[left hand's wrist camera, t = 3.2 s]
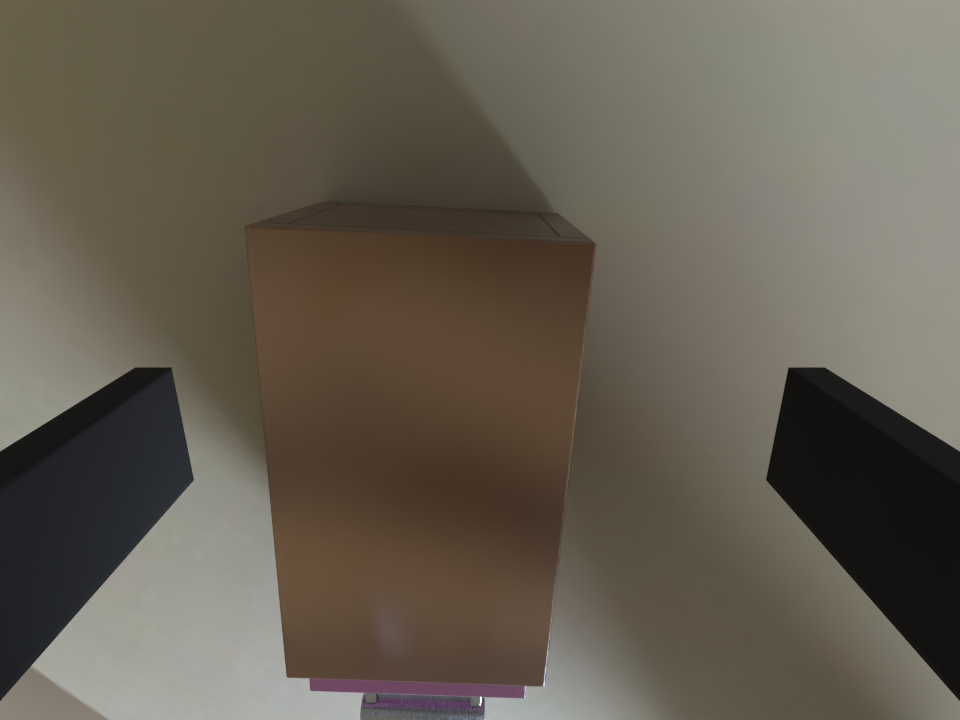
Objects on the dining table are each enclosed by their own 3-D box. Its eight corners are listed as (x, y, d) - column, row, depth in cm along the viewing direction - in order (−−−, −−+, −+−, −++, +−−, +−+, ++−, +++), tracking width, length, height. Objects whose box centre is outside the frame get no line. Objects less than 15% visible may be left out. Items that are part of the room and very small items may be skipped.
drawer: (509, 664, 34) (516, 787, 27) (348, 658, 33) (316, 780, 27) (541, 287, 26) (562, 332, 19) (332, 277, 26) (282, 319, 19)
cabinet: (527, 547, 32) (544, 687, 23) (337, 540, 32) (285, 678, 23) (558, 213, 26) (597, 242, 17) (321, 201, 25) (243, 225, 17)
